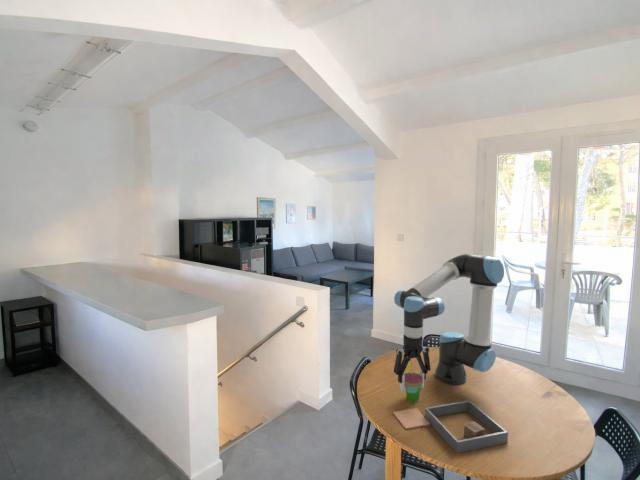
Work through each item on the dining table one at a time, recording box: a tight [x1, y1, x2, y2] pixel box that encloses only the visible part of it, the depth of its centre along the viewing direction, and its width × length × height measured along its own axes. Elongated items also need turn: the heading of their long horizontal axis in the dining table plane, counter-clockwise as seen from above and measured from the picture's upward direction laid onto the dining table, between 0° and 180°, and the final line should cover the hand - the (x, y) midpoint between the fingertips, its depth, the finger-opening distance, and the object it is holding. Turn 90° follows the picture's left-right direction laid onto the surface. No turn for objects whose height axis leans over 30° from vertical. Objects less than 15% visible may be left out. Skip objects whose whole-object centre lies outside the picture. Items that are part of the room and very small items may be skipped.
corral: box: [424, 400, 509, 454], centre depth 135 cm, size 22×22×4 cm
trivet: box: [392, 407, 431, 430], centre depth 142 cm, size 11×11×1 cm
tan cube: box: [463, 420, 486, 439], centre depth 130 cm, size 5×5×5 cm
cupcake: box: [404, 361, 423, 393], centre depth 140 cm, size 9×8×12 cm
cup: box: [403, 371, 422, 403], centre depth 156 cm, size 9×9×11 cm
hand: (411, 388), depth 141 cm, fingers closed on cupcake, 8 cm apart
